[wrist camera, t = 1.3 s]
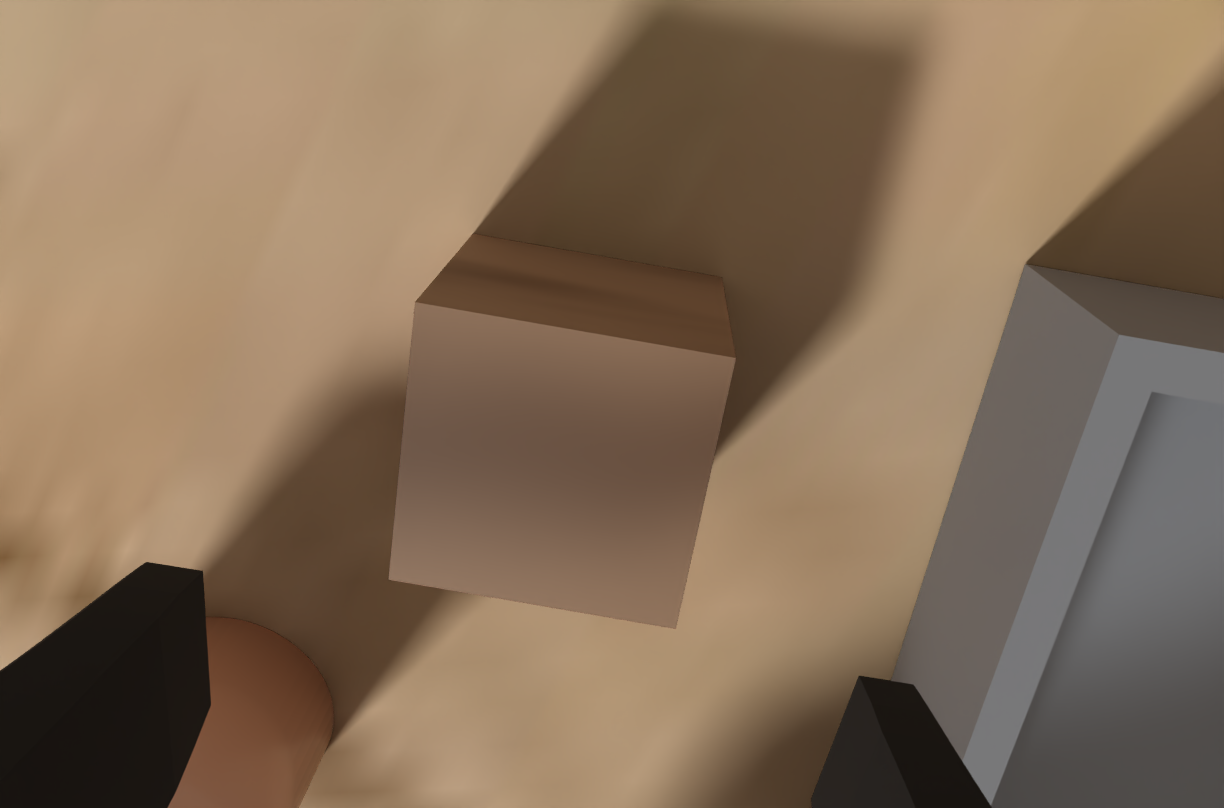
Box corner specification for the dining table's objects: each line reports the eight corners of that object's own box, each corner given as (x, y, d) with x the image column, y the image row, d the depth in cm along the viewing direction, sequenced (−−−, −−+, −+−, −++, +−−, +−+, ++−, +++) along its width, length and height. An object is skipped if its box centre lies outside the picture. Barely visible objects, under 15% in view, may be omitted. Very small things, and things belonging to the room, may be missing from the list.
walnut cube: (675, 497, 22) (675, 629, 18) (447, 458, 22) (388, 579, 18) (721, 276, 20) (736, 357, 16) (473, 232, 20) (414, 302, 16)
